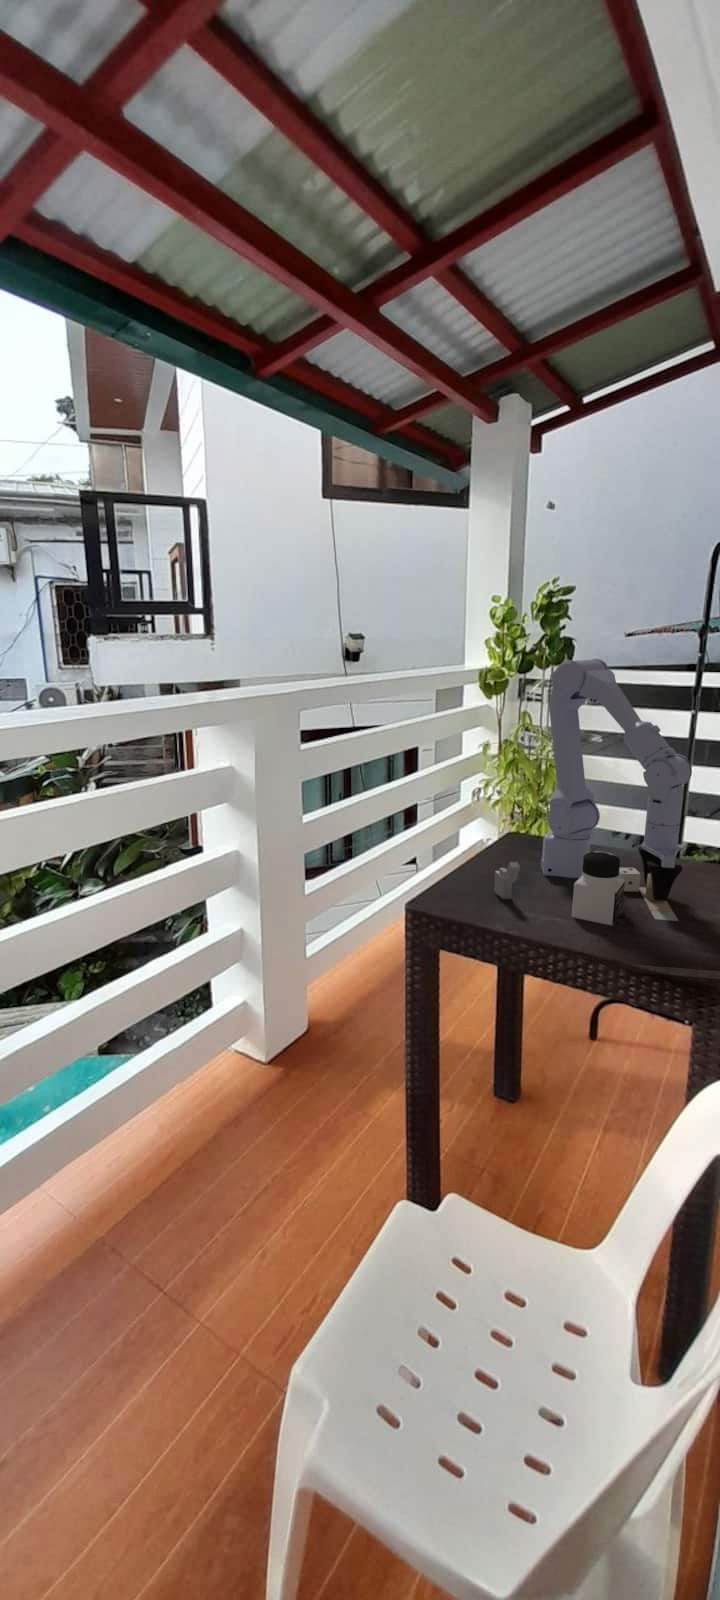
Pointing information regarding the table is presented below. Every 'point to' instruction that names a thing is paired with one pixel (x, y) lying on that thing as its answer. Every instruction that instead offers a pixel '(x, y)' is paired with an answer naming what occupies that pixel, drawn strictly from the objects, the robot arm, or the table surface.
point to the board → (659, 908)
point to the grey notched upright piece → (506, 880)
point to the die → (630, 878)
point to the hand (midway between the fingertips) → (655, 892)
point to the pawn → (650, 890)
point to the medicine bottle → (599, 889)
